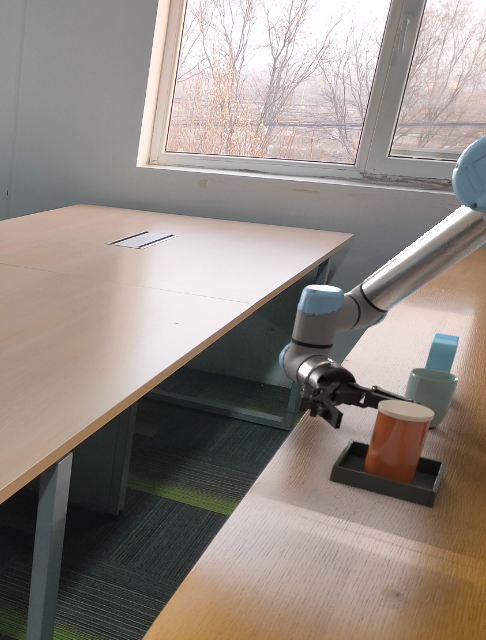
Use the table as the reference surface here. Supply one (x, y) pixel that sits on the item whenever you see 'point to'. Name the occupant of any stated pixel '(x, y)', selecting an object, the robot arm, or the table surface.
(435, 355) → the blue upright block
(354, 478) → the tray
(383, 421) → the orange lidded canister
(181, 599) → the table surface
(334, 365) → the robot arm
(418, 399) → the cup
